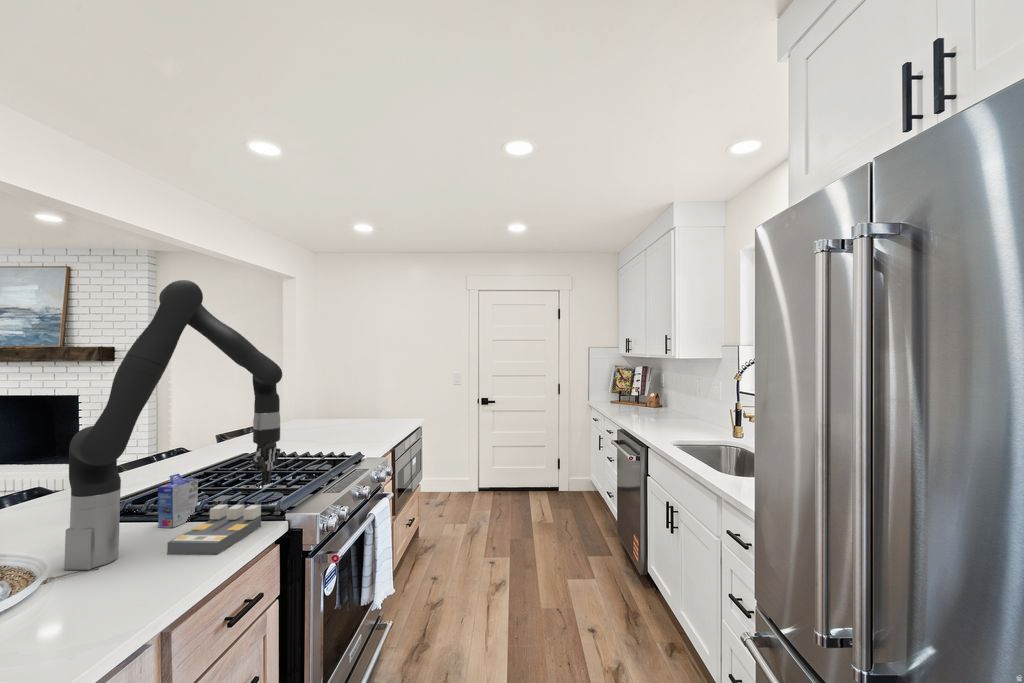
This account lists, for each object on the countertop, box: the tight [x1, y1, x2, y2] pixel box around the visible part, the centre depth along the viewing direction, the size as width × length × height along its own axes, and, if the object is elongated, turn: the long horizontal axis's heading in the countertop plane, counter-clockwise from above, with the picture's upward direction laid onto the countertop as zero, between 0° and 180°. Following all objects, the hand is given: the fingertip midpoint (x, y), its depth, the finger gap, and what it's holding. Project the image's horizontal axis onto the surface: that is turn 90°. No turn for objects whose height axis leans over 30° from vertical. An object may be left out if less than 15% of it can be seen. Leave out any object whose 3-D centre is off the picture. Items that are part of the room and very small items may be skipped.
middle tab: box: [227, 504, 246, 520], centre depth 137 cm, size 4×3×3 cm
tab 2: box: [243, 504, 262, 520], centre depth 137 cm, size 4×3×3 cm
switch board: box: [166, 515, 262, 556], centre depth 129 cm, size 20×14×3 cm
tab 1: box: [209, 504, 229, 520], centre depth 138 cm, size 4×3×3 cm
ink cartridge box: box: [157, 473, 199, 529], centre depth 143 cm, size 10×6×14 cm, turn 174°
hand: (266, 482), depth 145 cm, fingers closed
